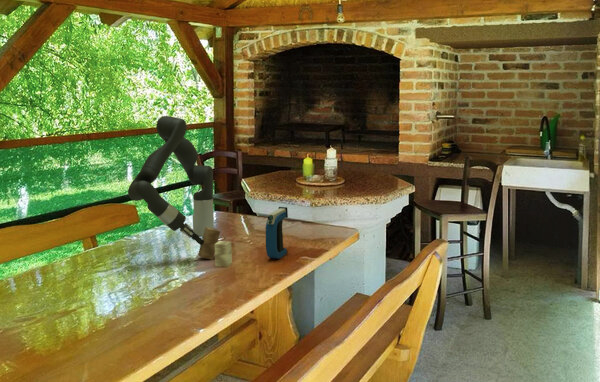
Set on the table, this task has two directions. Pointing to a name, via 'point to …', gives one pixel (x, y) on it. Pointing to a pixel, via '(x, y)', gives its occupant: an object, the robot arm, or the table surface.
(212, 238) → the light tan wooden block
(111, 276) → the table surface
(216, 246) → the beech block
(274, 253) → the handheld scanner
